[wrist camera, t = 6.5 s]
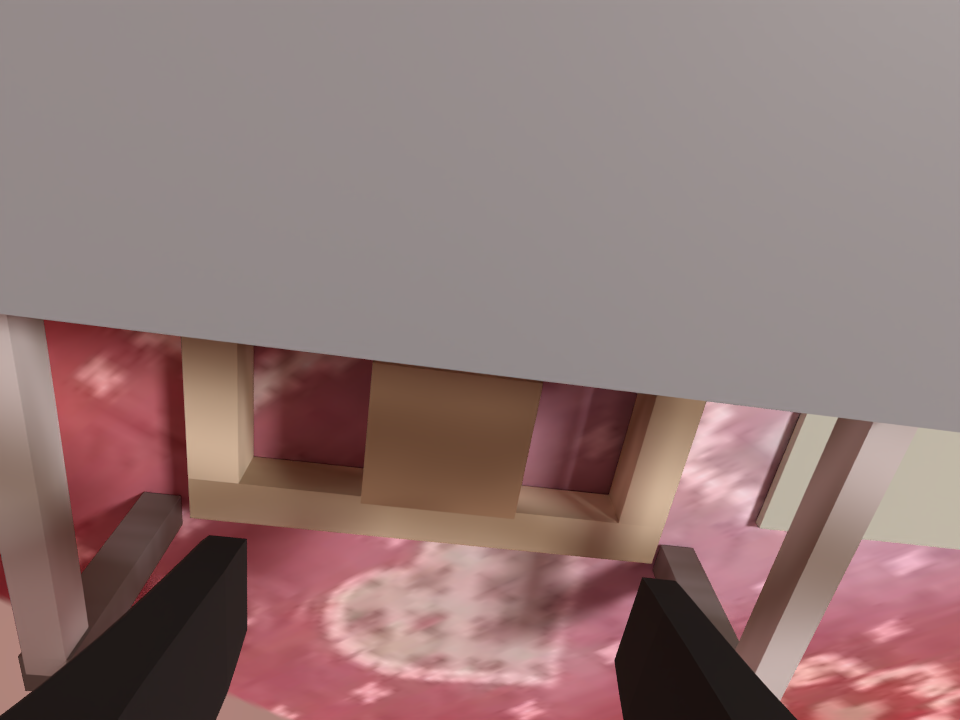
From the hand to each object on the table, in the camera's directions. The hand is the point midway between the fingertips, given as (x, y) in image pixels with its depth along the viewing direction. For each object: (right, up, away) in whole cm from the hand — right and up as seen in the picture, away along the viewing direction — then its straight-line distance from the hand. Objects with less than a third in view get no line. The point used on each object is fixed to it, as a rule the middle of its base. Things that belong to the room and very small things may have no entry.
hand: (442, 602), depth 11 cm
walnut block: (0, +4, +9) cm, 10 cm away
